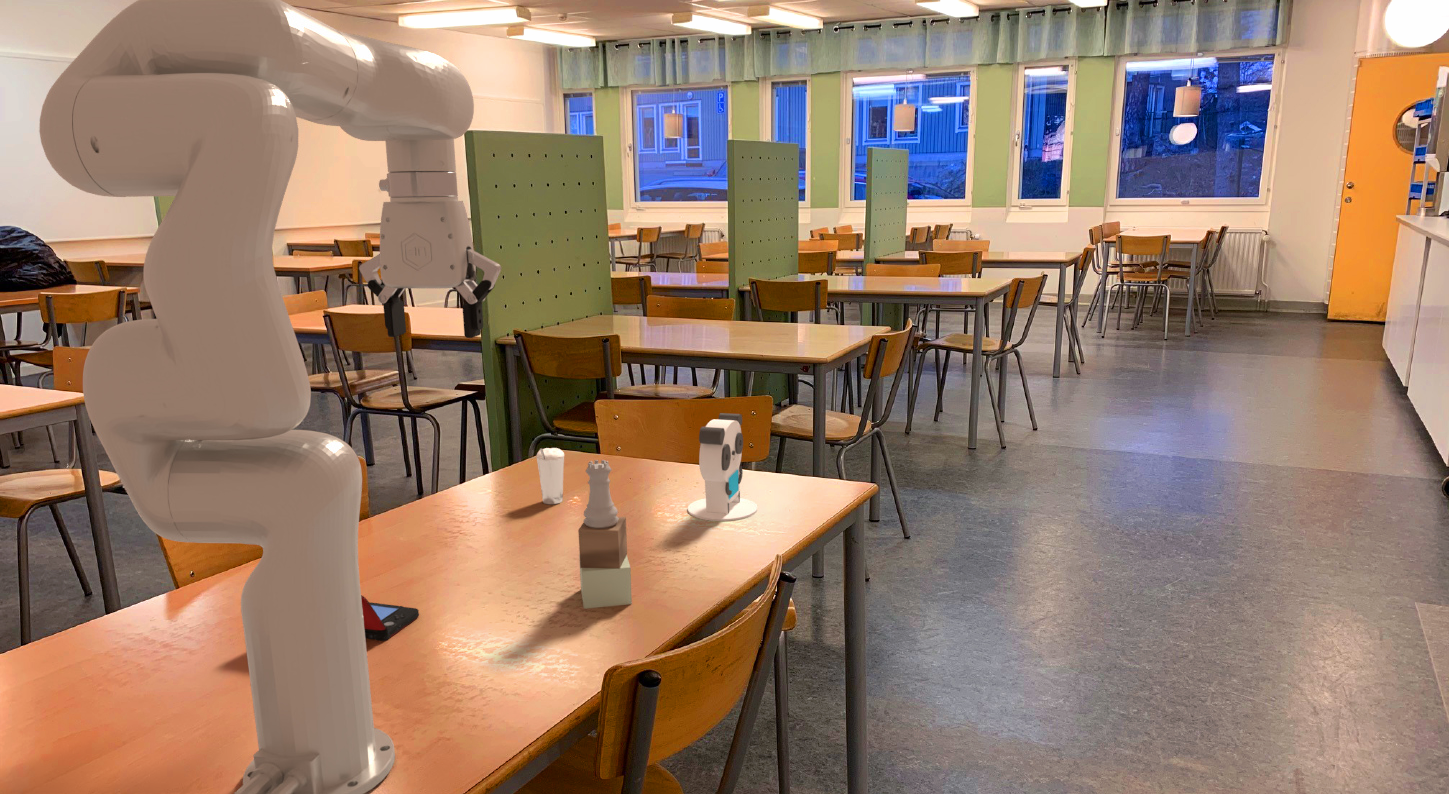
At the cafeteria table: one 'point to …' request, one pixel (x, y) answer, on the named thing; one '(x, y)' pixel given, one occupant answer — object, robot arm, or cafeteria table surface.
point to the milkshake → (551, 474)
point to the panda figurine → (722, 471)
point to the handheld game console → (385, 619)
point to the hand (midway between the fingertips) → (434, 335)
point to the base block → (606, 586)
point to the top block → (603, 546)
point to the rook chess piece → (599, 497)
